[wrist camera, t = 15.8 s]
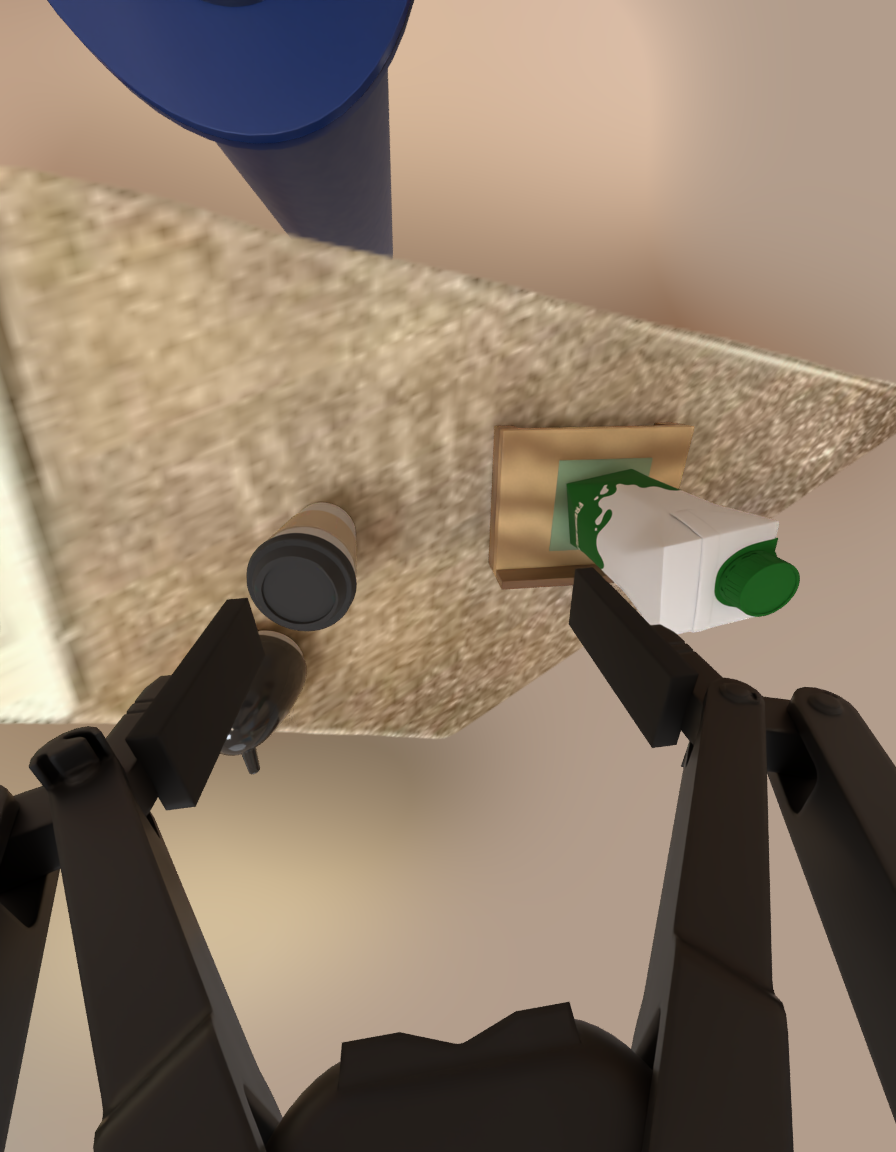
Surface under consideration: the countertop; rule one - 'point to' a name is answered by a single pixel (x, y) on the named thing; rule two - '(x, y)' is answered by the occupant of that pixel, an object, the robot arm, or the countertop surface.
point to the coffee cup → (306, 569)
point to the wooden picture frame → (564, 491)
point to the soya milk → (679, 551)
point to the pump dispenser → (267, 697)
